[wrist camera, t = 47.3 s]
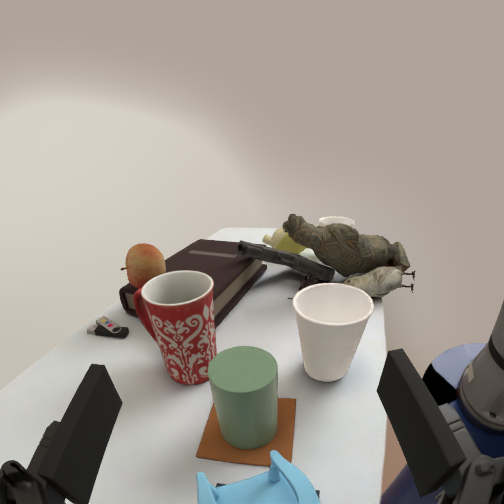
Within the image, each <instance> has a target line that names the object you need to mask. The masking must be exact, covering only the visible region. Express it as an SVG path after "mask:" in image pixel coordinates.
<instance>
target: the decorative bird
mask: <svg viewBox="0 0 504 504" xmlns="http://www.w3.org/2000/svg"><path fill="white" fill-rule="evenodd" d="M401 271H402V265H401V266H396V267H378V268H376V269H374V270H372V271H370V272H368V273H366V274H364V275H360V276H353V277H349V278H347V279H346V280H345V281H344V282H343V284H345V285H350V286H353V287H356V288H358V289H360V290H362V291H364V292H365V293H367V294H368V295H369V296H372V297H383V296H385V295H386V294H388V293H389V292H390V291H392V290H394V289H396V288H399V287H411V290H413V285H414V284H411V286H405V285H402V284H401V282H402V275H404V274H406V275H413V279H414V277H415V276H414V275H415V273H414V272H415V271H414V272H412V273H410V274H409V273H405V272H401Z"/></svg>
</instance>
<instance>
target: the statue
mask: <svg viewBox="0 0 504 504" xmlns="http://www.w3.org/2000/svg"><path fill="white" fill-rule="evenodd" d="M283 229H284V230H285V231H286V232H288V236H289V237H291V238H292V240H293V241H294V242H296V243H298V244H300V245H302V246H305V247H307V248H311V249H313V251H314V253H315V255H316V257H317V258H318V259H319V260H320V261H321V262H323V263H324V264H325V265H327V266H331V267H332V268H333V269H335V270H336V271H337V272H338V273H339V274H341V275H342V276H344V277H348V276H349V275H352V274H355V273H368V272H370V271H372V270H374V269H376V268H378V267H396V266H401V265H402V271H401V272H404V271H406V270H407V269H408V268H409V267H410V263H409V261H408V259H407V256H406V253H405V250H404V248H403V246H402V245H401V243H400V242H396V243H394V244H393V245H392V244H390V243H389V241H388V240H387V239H385V238H384V237H383V236H378V235H375V236H374V235H372V236H371V235H359V233H358V232H357V230H355V229H353V228H352V227H350V226H348V225H346V224H342V223H332V224H330V225H327V226H325V227H322V226H318V227H315V226H314V225H312V224H308V223H307V222H306V221H305V220H304V219H303V217H302V216H296V215H295V214H290V216H289V218H288V221H286V222H284V224H283Z"/></svg>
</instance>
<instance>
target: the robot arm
mask: <svg viewBox="0 0 504 504" xmlns="http://www.w3.org/2000/svg"><path fill="white" fill-rule="evenodd" d="M377 393H378V395H379V397H380V400H381V402H382V404H383V406H384V409H385V411H386V413H387V415H388V418H389V420H390V422H391V425H392V427H393V429H394V432H395V434H396V436H397V439H398V441H399V444H400V446H401V449H402V451H403V454H404V456H405V458H406V461H407V463H408V466H409V469H410V471H411V474H412V476H413V479H414V481H415V484H416V487H417V489H418V492H419V495H420V497H422V496H425V495H427V494H430V493H432V492H434V491H436V490H437V489H438V488H439V487H441V486H442V485H443V488H444V490H443V491H442V492H441V493H440V494H438V495H437V496H436V498H435V500H438V499H439V498H440V499H439V502H438V504H504V457H499V458H492V457H490V456H487V455H483V454H481V452H480V451H479V449H478V448H477V446H476V444H475V442H474V440H473V439H472V437H471V435H470V433H469V432H468V430H467V428H465V425H464V423H463V421H461V418H460V416H459V415H458V413H457V412H456V410H455V409H454V408H452V407H451V406H450V405H449V404H447V403H446V404H443V405H441V406H438V405H437V404H436V402H435V400H434V399H433V397H432V395H431V394H430V392H429V390H428V389H427V387H426V385H425V384H424V382H423V380H422V379H421V377H420V376H419V374H418V372H417V371H416V369H415V368H414V366H413V364H412V363H411V361H410V360H409V358H408V356H407V355H406V353H405V352H404V350H403V349H397V350H392V351H388V354H387V358H386V361H385V365H384V368H383V372H382V375H381V378H380V382H379V385H378V388H377ZM457 400H458V404H459V406H460V408H461V410H462V412H463V414H464V415H465V417H466V418H467V419H468V420H469V421H470V422H471V423H472V424H473V425H474V426H476V427H477V428H479V429H480V430H482V431H484V432H487V433H490V434H494V435H504V301H503V304H502V307H501V310H500V313H499V316H498V318H497V321H496V324H495V326H494V329H493V331H492V334H491V336H490V339H489V341H488V343H487V344H486V345H485V347H484V348H483V349H482V350H481V351H480V352H479V354H478V355H477V356H476V357H475V358H474V359H473V361H471V362H470V364H469V365H467V367H466V368H465V370H464V371H463V374H462V376H461V378H460V380H459V382H458V385H457ZM121 406H122V401H121V399H120V397H119V395H118V393H117V391H116V389H115V387H114V384H113V382H112V380H111V378H110V376H109V374H108V372H107V369H106V367H105V365H98V364H91V366H90V367H89V369H88V371H87V373H86V375H85V376H84V378H83V380H82V382H81V384H80V386H79V387H78V389H77V391H76V393H75V395H74V397H73V399H72V400H71V402H70V404H69V406H68V408H67V410H66V412H65V414H64V416H63V418H62V420H61V422H58V421H54V422H52V423H51V424H50V425H49V426H48V427H47V429H46V431H45V433H44V435H43V438H42V439H41V441H40V443H39V444H40V445H38V447H37V449H36V451H35V453H34V455H33V457H32V460H31V462H30V464H29V466H28V468H27V470H26V469H25V468H24V467H23V466H22V465H21V464H20V463H19V462H17V461H14V460H10V461H7V462H5V463H4V464H3V465H2V467H1V469H0V504H66V503H65V502H64V501H65V498H67V499H68V500H69V501H71V502H72V503H74V504H88V503H89V500H90V497H91V493H92V490H93V487H94V483H95V480H96V477H97V474H98V471H99V468H100V465H101V462H102V459H103V456H104V453H105V450H106V447H107V444H108V441H109V438H110V436H111V433H112V430H113V427H114V424H115V422H116V419H117V416H118V414H119V411H120V408H121Z"/></svg>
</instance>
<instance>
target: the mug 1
mask: <svg viewBox="0 0 504 504" xmlns="http://www.w3.org/2000/svg"><path fill="white" fill-rule="evenodd" d="M213 287H214V282H213V279H212V278H211V277H210V276H209V275H207V274H205V273H202V272H198V271H187V270H185V271H174V272H168V273H165V274H162V275H159V276H157V277H155V278H153V279H151V280H149V281H148V282H147V283H146V284H145V285H144V286H143V287H142V288H140V289H139V290H138V291H136V292H135V294H134V306H135V309H136V312H137V314H138V316H139V318H140V320H141V322H142V323H143V325H144V326H145V328H146V329H147V331H148V332H149V333H150V335H151V336H152V337H153V338H154V340H155V341H156V342H157V343H158V345H159V348H160V351H161V353H162V356H163V359H164V362H165V365H166V368H167V371H168V373H169V375H170V377H171V378H172V379H173V380H175V381H176V382H178V383H181V384H186V385H195V384H200V383H203V382H205V381H207V380H209V377H208V366H209V364H210V362H211V360H212V359H213V358H214V357H215V356H216V355H217V352H216V338H215V323H214V307H213V291H212V290H213ZM143 299H144V301H145V304H146V307H147V310H146V307H145V305H144V301H143Z"/></svg>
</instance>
